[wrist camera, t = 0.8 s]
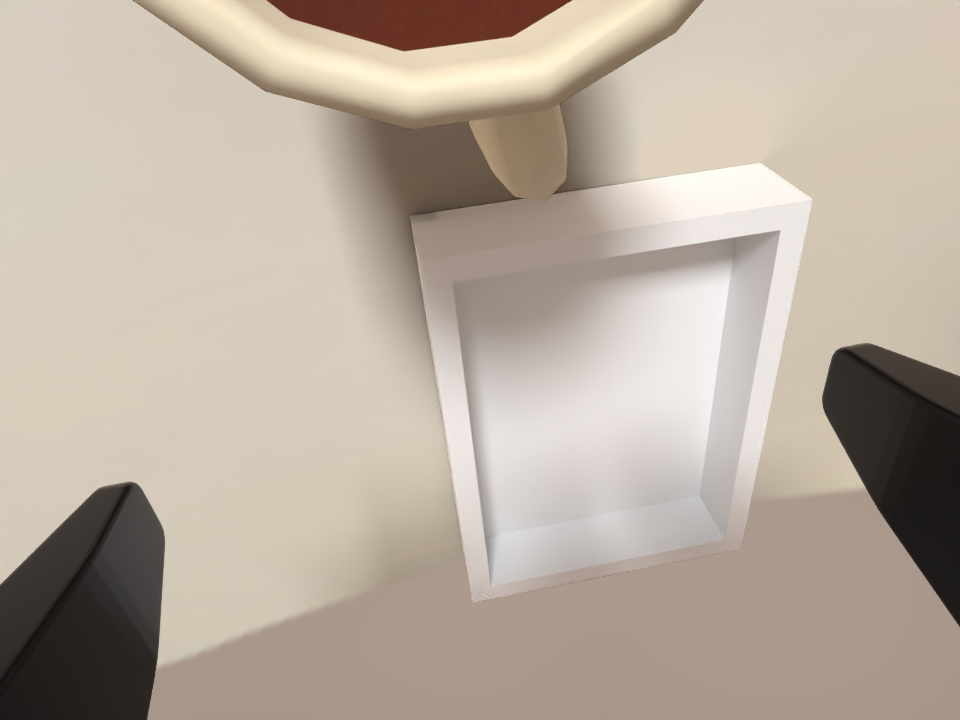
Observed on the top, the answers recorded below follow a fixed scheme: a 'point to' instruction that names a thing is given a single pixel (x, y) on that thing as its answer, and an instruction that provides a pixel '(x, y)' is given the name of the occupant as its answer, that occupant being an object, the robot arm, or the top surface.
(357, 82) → the character mug
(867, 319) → the top surface
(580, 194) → the white open box
